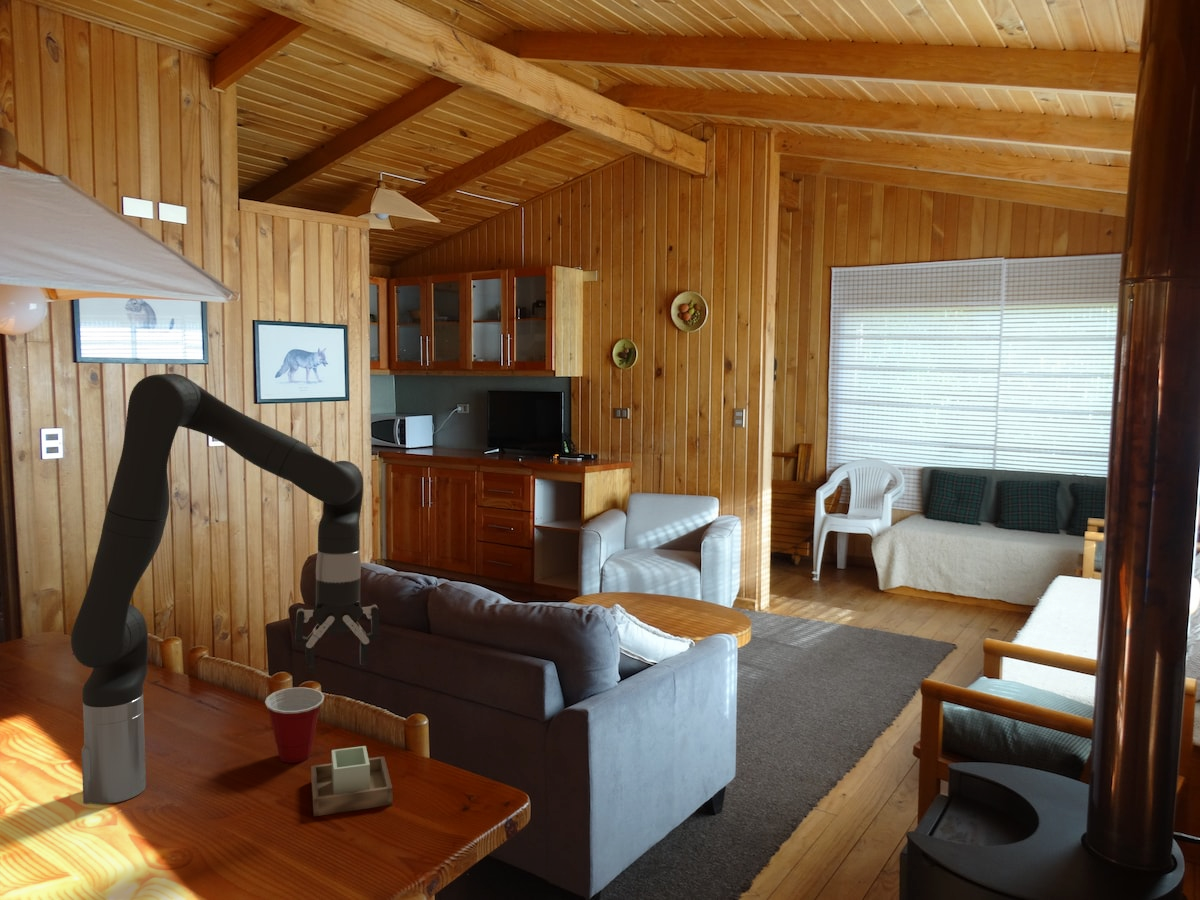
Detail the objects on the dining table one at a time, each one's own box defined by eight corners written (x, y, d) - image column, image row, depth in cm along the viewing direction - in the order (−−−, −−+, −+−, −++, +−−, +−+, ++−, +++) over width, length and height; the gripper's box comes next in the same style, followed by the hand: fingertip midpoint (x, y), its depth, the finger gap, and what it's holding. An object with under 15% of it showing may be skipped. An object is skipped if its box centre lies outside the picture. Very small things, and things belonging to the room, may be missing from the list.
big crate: (313, 816, 146) (313, 799, 146) (311, 781, 158) (311, 765, 158) (392, 804, 151) (392, 787, 151) (384, 771, 163) (384, 756, 163)
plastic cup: (280, 775, 161) (279, 712, 160) (256, 756, 168) (255, 696, 167) (335, 757, 168) (334, 697, 167) (309, 740, 176) (308, 682, 175)
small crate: (334, 802, 150) (333, 769, 149) (331, 782, 157) (331, 750, 157) (369, 797, 152) (369, 764, 151) (366, 777, 159) (365, 745, 159)
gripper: (295, 582, 146) (294, 675, 148) (382, 578, 151) (380, 669, 153) (295, 572, 154) (294, 661, 155) (378, 568, 158) (376, 655, 160)
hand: (337, 665), depth 154 cm, fingers open, 8 cm apart
